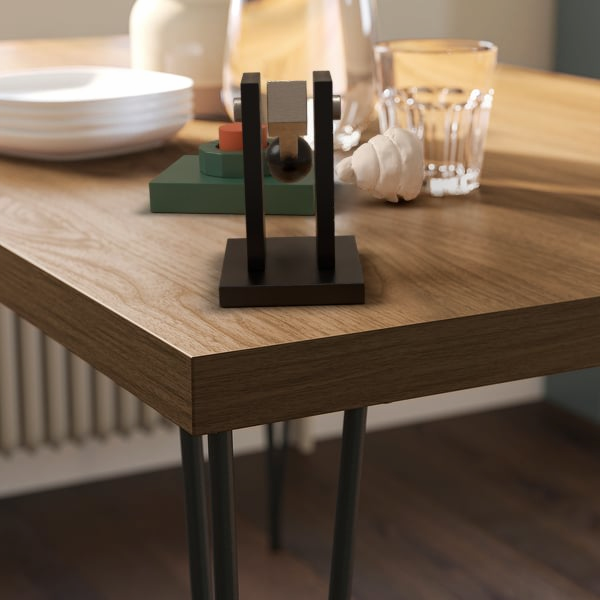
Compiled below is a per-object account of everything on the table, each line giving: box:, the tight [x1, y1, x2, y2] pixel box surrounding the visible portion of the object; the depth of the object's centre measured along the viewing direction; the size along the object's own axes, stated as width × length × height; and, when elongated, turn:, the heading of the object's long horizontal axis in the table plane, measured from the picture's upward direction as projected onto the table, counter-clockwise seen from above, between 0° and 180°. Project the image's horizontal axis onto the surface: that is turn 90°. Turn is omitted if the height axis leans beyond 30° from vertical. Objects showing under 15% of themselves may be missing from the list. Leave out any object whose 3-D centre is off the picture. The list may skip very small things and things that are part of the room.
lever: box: [265, 79, 314, 183], centre depth 72 cm, size 14×3×3 cm, turn 0°
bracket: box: [218, 70, 366, 308], centre depth 67 cm, size 10×8×12 cm
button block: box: [148, 137, 315, 216], centre depth 89 cm, size 12×10×4 cm
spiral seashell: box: [334, 126, 425, 203], centre depth 86 cm, size 6×6×5 cm
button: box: [218, 122, 268, 151], centre depth 88 cm, size 4×4×2 cm
